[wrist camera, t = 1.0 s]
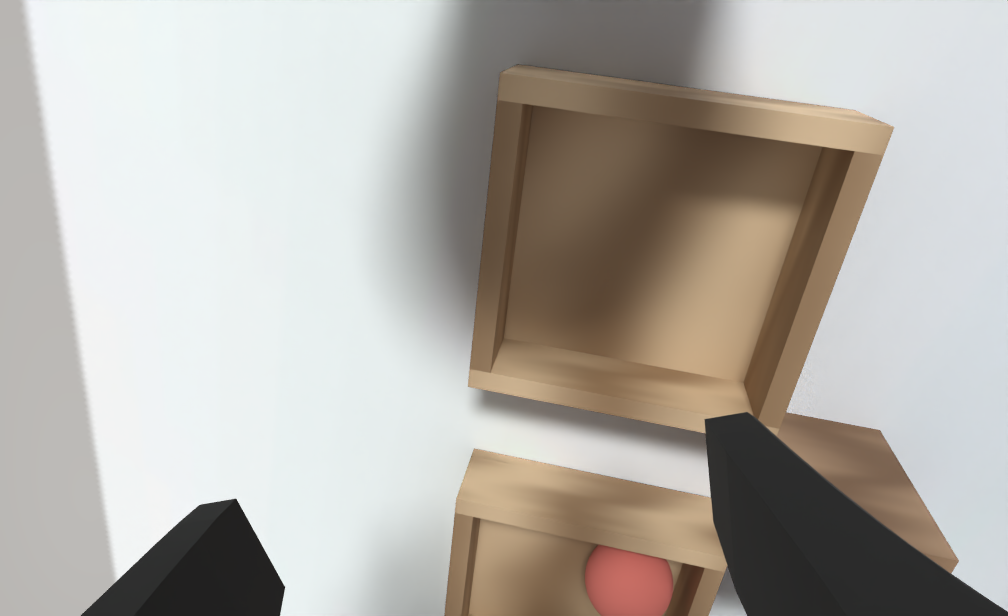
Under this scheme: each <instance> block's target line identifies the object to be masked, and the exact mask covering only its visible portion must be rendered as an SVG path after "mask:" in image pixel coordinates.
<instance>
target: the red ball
mask: <svg viewBox="0 0 1008 616" xmlns="http://www.w3.org/2000/svg"><path fill="white" fill-rule="evenodd" d="M585 585H586V590H587V594H588V596H589V599H590V601H591V603H592V605H593V606H594V608H595V609H596V610H597V612H598V613H599V614H600V615H601V616H662V615H663V614H664V613H665V611H666V610H667V608H668V606H669V604H670V601H671V598H672V594H673V576H672V571H671V568H670V565H669V563H668V561H667V559H663V558H658V557H654V556H649V555H645V554H640V553H635V552H631V551H626V550H622V549H617V548H613V547H608V546H604V545H598V546H597V547H596V548H595V549H594V550H593V552H592V553H591V555H590V557H589V559H588V562H587V565H586V570H585Z"/></svg>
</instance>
